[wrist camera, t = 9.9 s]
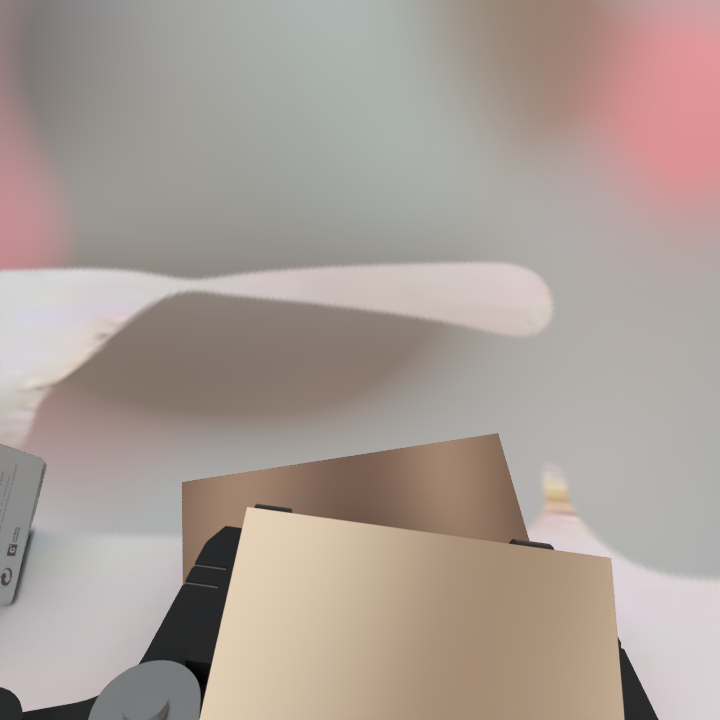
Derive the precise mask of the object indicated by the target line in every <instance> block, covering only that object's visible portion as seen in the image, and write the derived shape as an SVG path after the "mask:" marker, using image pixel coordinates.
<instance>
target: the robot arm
mask: <svg viewBox="0 0 720 720" xmlns="http://www.w3.org/2000/svg"><path fill="white" fill-rule="evenodd" d="M254 508H258V509H265V510H272V511H280V512H287V513H292V509H291V508H285V507H278V506H271V505H263V504H256V505H255V507H254ZM241 532H242V528H239V527H231V526H225V527H224V528H222V529H221V530H220V531H219V532H218V533H216V534H215V535H214V536H213V537H211V538H210V539H209V540H208V541H207V542H206V543H205V545H204V547H203V549H202V550H201V552H200V554H199V556H198V558H197V560H196V561H195V565H194V567H192V569H191V571H190V572H189V574H188V576H187V578H186V580H185V584H184V585H182V587H181V589H180V591H179V593H178V595H177V596H176V598H175V600H174V602H173V604H172V606H171V607H170V609H169V611H168V613H167V615H166V617H165V618H164V620H163V622H162V624H161V626H160V628H159V630H158V631H157V633H156V635H155V637H154V639H153V641H152V642H151V644H150V646H149V648H148V650H147V652H146V653H145V655H144V657H143V658H142V660H141V662H140V663H139V664H138V665H136V666H134V667H132V668H130V669H128V670H126V671H125V672H123V673H122V674H120V675H119V676H117V677H116V678H115V679H114V680H112V681H111V682H110V683H109V684H108V685H107V686H106V687H105V688H104V690H103V691H102V692H101V694H100V695H98V696H96V697H93V698H91V699H88V700H85V701H81V702H77V703H72V704H67V705H61V706H55V707H50V708H44V709H39V710H33V711H27V712H22V707H21V704H20V701H19V699H18V698H17V697H16V695H15V694H13V693H12V692H11V691H9V690H7V689H4V688H1V687H0V720H199V719H200V715H201V710H202V706H203V701H204V697H205V693H206V688H207V684H208V679H209V675H210V670H211V666H212V661H213V657H214V652H215V648H216V643H217V639H218V635H219V630H220V626H221V621H222V617H223V612H224V608H225V603H226V599H227V594H228V590H229V585H230V581H231V577H232V572H233V568H234V563H235V559H236V554H237V550H238V545H239V541H240V536H241ZM509 544H514V545H521V546H528V547H536V548H543V549H550V550H554V549H553V547H552V546H551V545H550V544H546V543H538V542H531V541H524V540H516V539H512V540H511V541H510V542H509ZM618 648H619V660H620V672H621V684H622V696H623V708H624V720H658V718H657V716H656V714H655V712H654V710H653V708H652V706H651V704H650V702H649V699H648V697H647V695H646V693H645V691H644V689H643V687H642V685H641V683H640V681H639V679H638V677H637V675H636V673H635V671H634V669H633V667H632V665H631V663H630V661H629V659H628V656H627V654H626V652H625V650H624V649H622V648H621V642H620V640H619V638H618Z"/></svg>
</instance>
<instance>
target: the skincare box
mask: <svg viewBox="0 0 720 720" xmlns="http://www.w3.org/2000/svg"><path fill="white" fill-rule="evenodd" d="M45 471H46V463H45V461H44V460H43V459H42V458H39V457H36V456H34V455H31V454H28V453H25V452H22V451H19V450H16V449H13V448H11V447H8V446H5V445H2V444H0V606H7V605H9V604H10V603H11V602H12V599H13V596H14V592H15V589H16V585H17V581H18V577H19V573H20V567H21V562H22V558H23V554H24V550H25V547H26V543H27V539H28V536H29V531H30V528H31V524H32V521H33V517H34V514H35V511H36V506H37V503H38V498H39V495H40V490H41V487H42V482H43V478H44V475H45Z"/></svg>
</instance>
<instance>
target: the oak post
mask: <svg viewBox="0 0 720 720" xmlns="http://www.w3.org/2000/svg"><path fill="white" fill-rule="evenodd" d="M199 720H624V708H623V696H622V684H621V672H620V660H619V648H618V636H617V624H616V612H615V600H614V589H613V577H612V565H611V558H607V557H600V556H592V555H585V554H578V553H571V552H564V551H557V550H550V549H543V548H536V547H528V546H521V545H514V544H507V543H500V542H493V541H486V540H479V539H472V538H464V537H457V536H450V535H443V534H436V533H429V532H422V531H415V530H408V529H400V528H393V527H386V526H379V525H372V524H365V523H358V522H351V521H344V520H336V519H329V518H322V517H315V516H308V515H301V514H294V513H287V512H280V511H272V510H265V509H258V508H251V507H247V510H246V514H245V518H244V523H243V527H242V532H241V536H240V541H239V545H238V550H237V554H236V559H235V563H234V568H233V572H232V577H231V581H230V585H229V590H228V594H227V599H226V603H225V608H224V612H223V617H222V621H221V626H220V630H219V635H218V639H217V643H216V648H215V652H214V657H213V661H212V666H211V670H210V675H209V679H208V684H207V688H206V693H205V697H204V701H203V706H202V710H201V715H200V719H199Z"/></svg>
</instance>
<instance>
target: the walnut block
mask: <svg viewBox="0 0 720 720" xmlns="http://www.w3.org/2000/svg"><path fill="white" fill-rule="evenodd" d="M256 504H263V505H271V506H278V507H285V508H291V509H292V513H294V514H301V515H308V516H315V517H322V518H329V519H336V520H344V521H351V522H358V523H365V524H372V525H379V526H386V527H393V528H400V529H408V530H415V531H422V532H429V533H436V534H443V535H450V536H457V537H464V538H472V539H479V540H486V541H493V542H500V543H507V544H509V542H510V541H511V540H512V539H516V540H524V541H529V538H528V535H527V531H526V528H525V525H524V521H523V518H522V514H521V511H520V507H519V504H518V500H517V497H516V494H515V490H514V487H513V483H512V480H511V476H510V473H509V470H508V466H507V463H506V460H505V456H504V452H503V449H502V446H501V442H500V439H499V435H498V433H497V434H492V435H485V436H478V437H472V438H465V439H459V440H453V441H446V442H439V443H433V444H426V445H420V446H413V447H407V448H400V449H394V450H387V451H381V452H375V453H368V454H362V455H355V456H348V457H342V458H336V459H330V460H323V461H316V462H310V463H303V464H298V465H290V466H284V467H277V468H271V469H265V470H258V471H251V472H245V473H238V474H232V475H225V476H219V477H212V478H206V479H200V480H193V481H187V482H182V524H183V525H182V528H183V585H184V584H185V580H186V578H187V576H188V574H189V572H190V571H191V569H192V567H194V565H195V561H196V560H197V558H198V556H199V554H200V552H201V550H202V549H203V547H204V545H205V543H206V542H207V541H208V540H209V539H210V538H211V537H213V536H214V535H215V534H216V533H218V532H219V531H220V530H221V529H222V528H224V527H225V526H231V527H239V528H242V527H243V523H244V518H245V514H246V510H247V507H251V508H254V507H255V505H256Z"/></svg>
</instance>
